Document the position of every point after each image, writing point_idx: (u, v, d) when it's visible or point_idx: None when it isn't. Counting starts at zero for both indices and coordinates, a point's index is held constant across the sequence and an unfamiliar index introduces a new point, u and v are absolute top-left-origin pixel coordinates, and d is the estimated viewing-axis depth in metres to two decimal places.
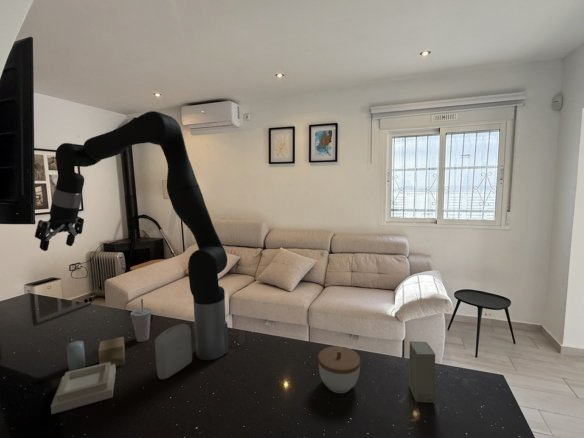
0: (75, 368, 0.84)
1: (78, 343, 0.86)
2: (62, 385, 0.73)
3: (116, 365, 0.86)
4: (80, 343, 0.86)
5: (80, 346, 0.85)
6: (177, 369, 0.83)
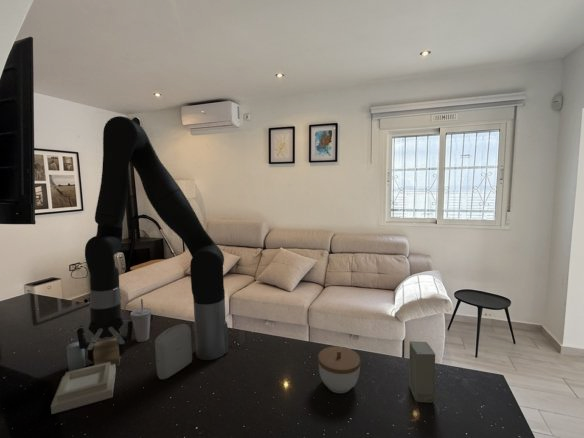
0: (75, 369, 0.84)
1: (78, 344, 0.86)
2: (62, 385, 0.73)
3: None
4: None
5: None
6: (177, 369, 0.83)
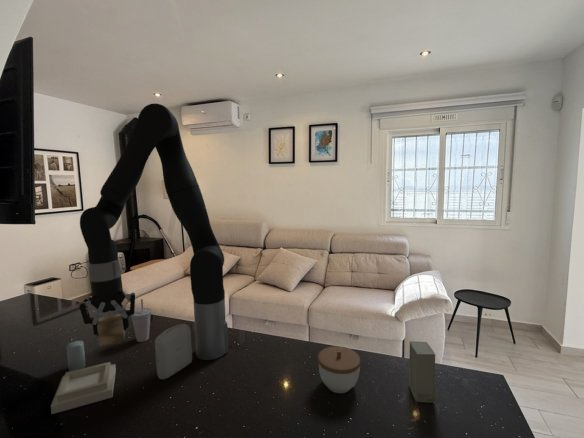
0: (75, 368, 0.84)
1: (78, 343, 0.86)
2: (62, 385, 0.73)
3: (116, 340, 0.85)
4: (81, 343, 0.86)
5: (80, 346, 0.85)
6: (177, 369, 0.83)
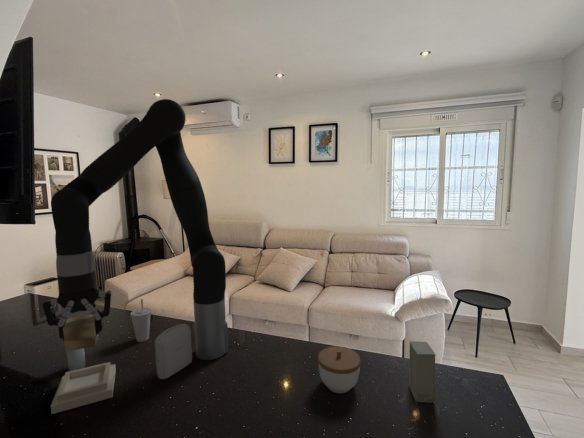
0: (75, 368, 0.84)
1: None
2: (62, 385, 0.73)
3: (85, 345, 0.73)
4: None
5: None
6: (177, 369, 0.83)
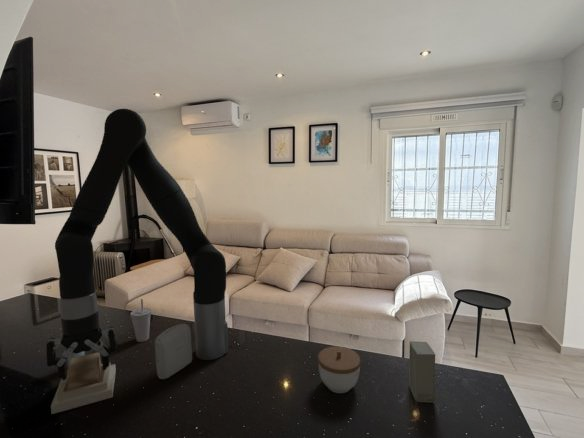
0: None
1: None
2: (62, 385, 0.73)
3: None
4: None
5: None
6: (177, 369, 0.83)
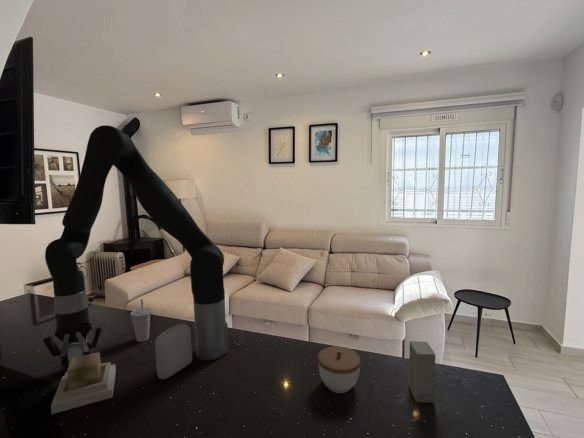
0: None
1: (78, 343, 0.86)
2: (62, 385, 0.73)
3: None
4: None
5: (79, 346, 0.85)
6: (177, 369, 0.83)
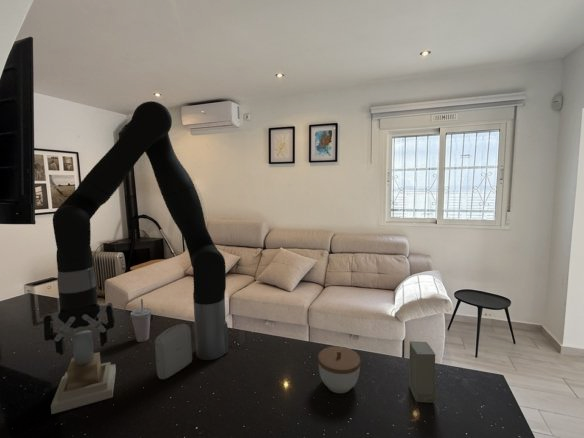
0: (82, 361, 0.74)
1: (85, 333, 0.75)
2: (62, 385, 0.73)
3: None
4: (88, 333, 0.76)
5: (87, 336, 0.74)
6: (177, 369, 0.83)
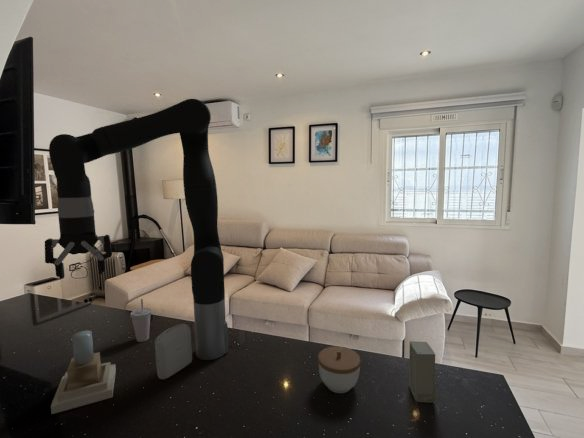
0: (82, 361, 0.74)
1: (85, 333, 0.75)
2: (62, 385, 0.73)
3: None
4: (88, 333, 0.76)
5: (87, 336, 0.74)
6: (177, 369, 0.83)
